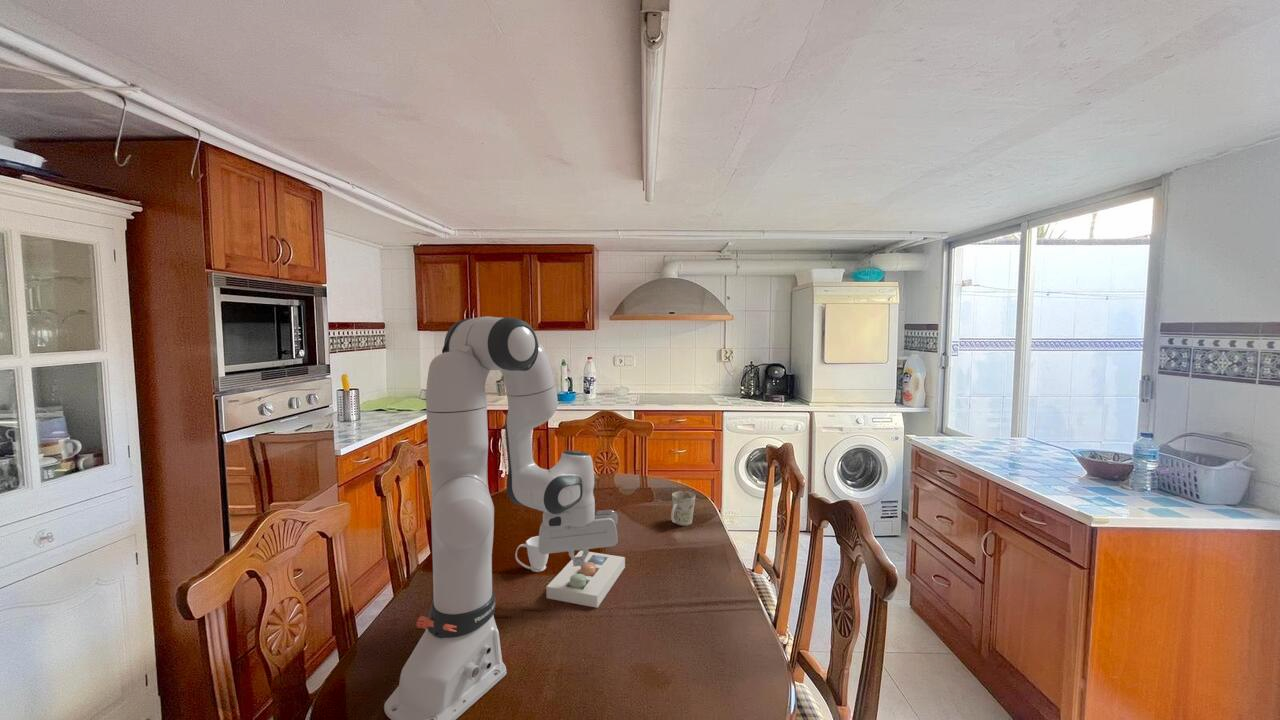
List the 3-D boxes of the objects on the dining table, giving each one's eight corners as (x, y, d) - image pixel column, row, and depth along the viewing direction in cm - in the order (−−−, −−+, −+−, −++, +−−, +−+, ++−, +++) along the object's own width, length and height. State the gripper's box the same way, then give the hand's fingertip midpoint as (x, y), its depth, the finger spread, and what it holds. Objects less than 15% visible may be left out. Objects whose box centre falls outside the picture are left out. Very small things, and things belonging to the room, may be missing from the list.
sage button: (581, 594, 117) (581, 582, 117) (567, 591, 119) (567, 580, 118) (588, 586, 121) (588, 575, 121) (574, 583, 122) (574, 572, 122)
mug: (699, 520, 167) (699, 493, 167) (683, 533, 157) (683, 504, 156) (678, 516, 172) (678, 489, 171) (661, 527, 161) (661, 499, 161)
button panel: (597, 607, 114) (597, 596, 114) (546, 598, 118) (546, 586, 118) (624, 567, 134) (624, 557, 134) (580, 560, 138) (580, 550, 138)
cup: (549, 574, 130) (548, 546, 130) (512, 575, 130) (512, 546, 129) (552, 561, 137) (552, 535, 137) (518, 562, 137) (517, 535, 136)
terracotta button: (592, 581, 124) (592, 570, 123) (578, 578, 125) (578, 568, 125) (597, 573, 127) (597, 563, 127) (584, 571, 129) (584, 561, 128)
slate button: (601, 573, 130) (601, 563, 130) (588, 571, 131) (587, 561, 131) (606, 566, 134) (606, 556, 133) (593, 564, 135) (593, 554, 135)
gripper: (615, 504, 124) (616, 554, 125) (537, 512, 120) (538, 563, 121) (619, 513, 118) (620, 565, 119) (537, 521, 114) (539, 576, 115)
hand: (578, 565), depth 120 cm, fingers closed
